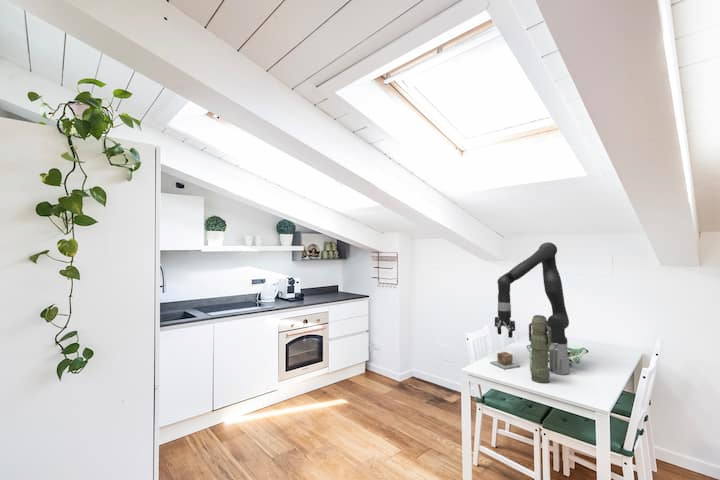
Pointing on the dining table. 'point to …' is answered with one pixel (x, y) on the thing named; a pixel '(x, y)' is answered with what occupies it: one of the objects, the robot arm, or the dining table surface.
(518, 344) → the dining table surface
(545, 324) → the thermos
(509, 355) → the walnut block
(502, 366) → the coaster
